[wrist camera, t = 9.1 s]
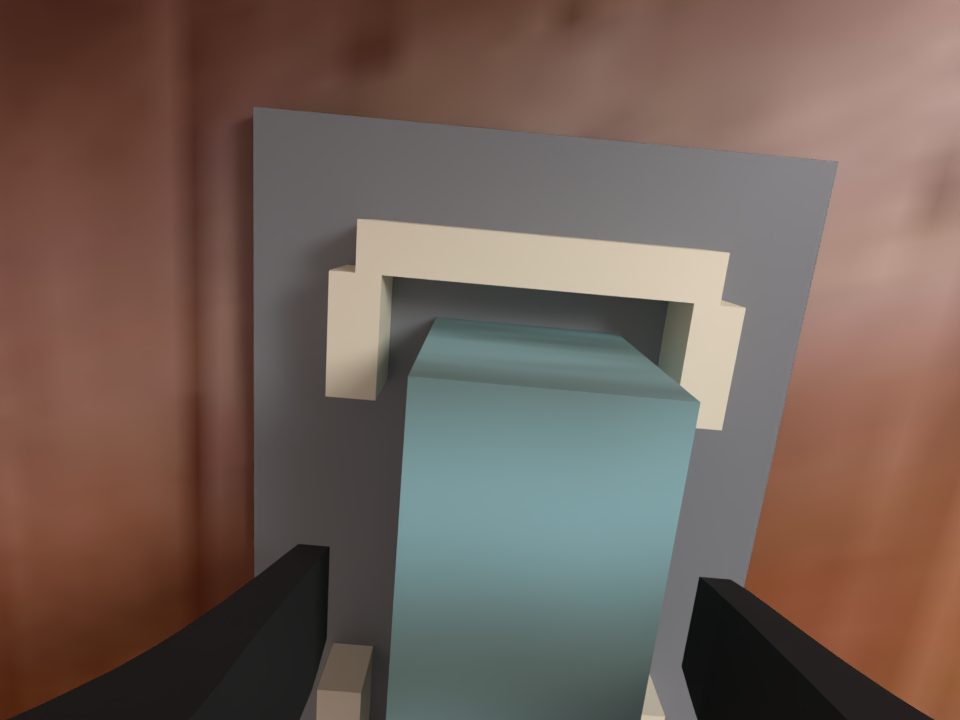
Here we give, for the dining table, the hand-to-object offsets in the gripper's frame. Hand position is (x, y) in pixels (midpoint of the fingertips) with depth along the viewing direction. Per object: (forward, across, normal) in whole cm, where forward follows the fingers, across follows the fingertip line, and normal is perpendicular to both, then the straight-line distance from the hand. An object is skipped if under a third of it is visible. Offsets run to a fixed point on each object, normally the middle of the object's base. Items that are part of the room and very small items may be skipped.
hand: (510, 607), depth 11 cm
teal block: (+3, 0, 0) cm, 3 cm away
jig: (+3, 0, 0) cm, 3 cm away
